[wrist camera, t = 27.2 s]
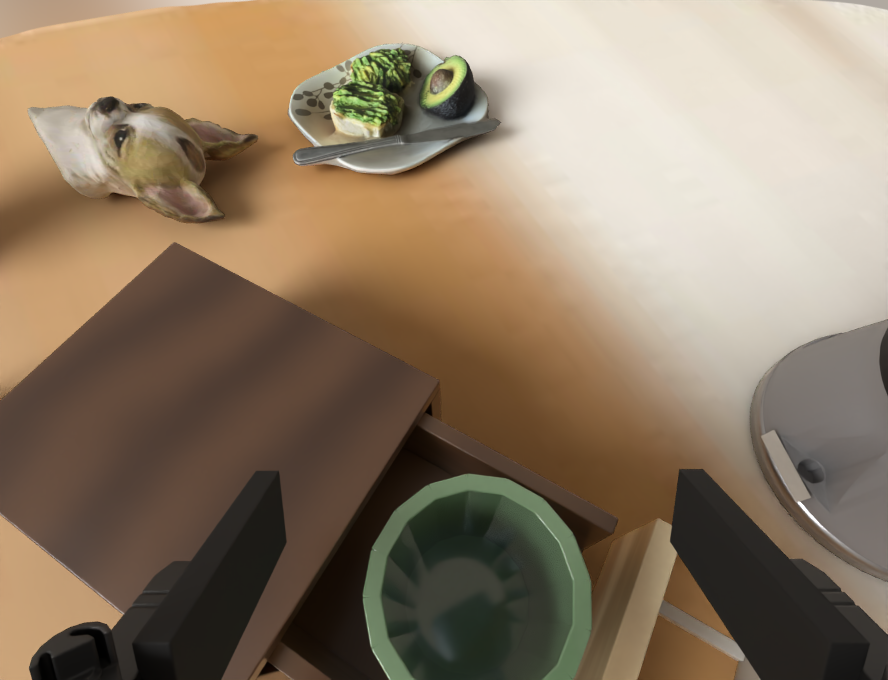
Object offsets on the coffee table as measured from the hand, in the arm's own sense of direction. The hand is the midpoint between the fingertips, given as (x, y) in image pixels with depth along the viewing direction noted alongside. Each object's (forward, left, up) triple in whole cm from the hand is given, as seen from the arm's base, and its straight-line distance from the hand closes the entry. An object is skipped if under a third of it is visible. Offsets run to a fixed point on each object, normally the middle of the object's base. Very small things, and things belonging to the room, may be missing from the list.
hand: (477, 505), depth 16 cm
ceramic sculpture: (+37, -13, -14) cm, 41 cm away
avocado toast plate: (+25, -31, -14) cm, 42 cm away
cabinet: (+14, +2, -14) cm, 19 cm away
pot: (-1, +2, -12) cm, 12 cm away
